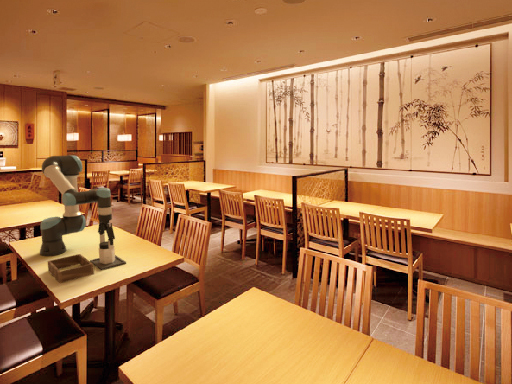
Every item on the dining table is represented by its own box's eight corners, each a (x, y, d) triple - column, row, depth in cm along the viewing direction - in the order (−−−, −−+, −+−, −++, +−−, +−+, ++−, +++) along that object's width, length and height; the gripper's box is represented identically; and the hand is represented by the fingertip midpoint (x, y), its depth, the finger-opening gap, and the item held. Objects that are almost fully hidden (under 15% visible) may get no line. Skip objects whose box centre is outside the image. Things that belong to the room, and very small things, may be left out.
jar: (100, 265, 198) (99, 246, 196) (98, 260, 204) (97, 242, 202) (116, 262, 202) (115, 243, 200) (114, 258, 209) (112, 240, 207)
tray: (90, 262, 204) (89, 260, 204) (114, 256, 214) (114, 254, 214) (101, 270, 191) (100, 268, 191) (126, 263, 202) (126, 261, 202)
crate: (48, 270, 190) (47, 261, 189) (80, 263, 202) (79, 253, 201) (59, 283, 174) (58, 272, 173) (93, 273, 186) (93, 263, 185)
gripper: (90, 211, 204) (93, 243, 207) (106, 218, 186) (108, 253, 190) (103, 209, 209) (105, 241, 213) (119, 216, 192) (121, 250, 195)
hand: (106, 247), depth 201 cm, fingers open, 13 cm apart
